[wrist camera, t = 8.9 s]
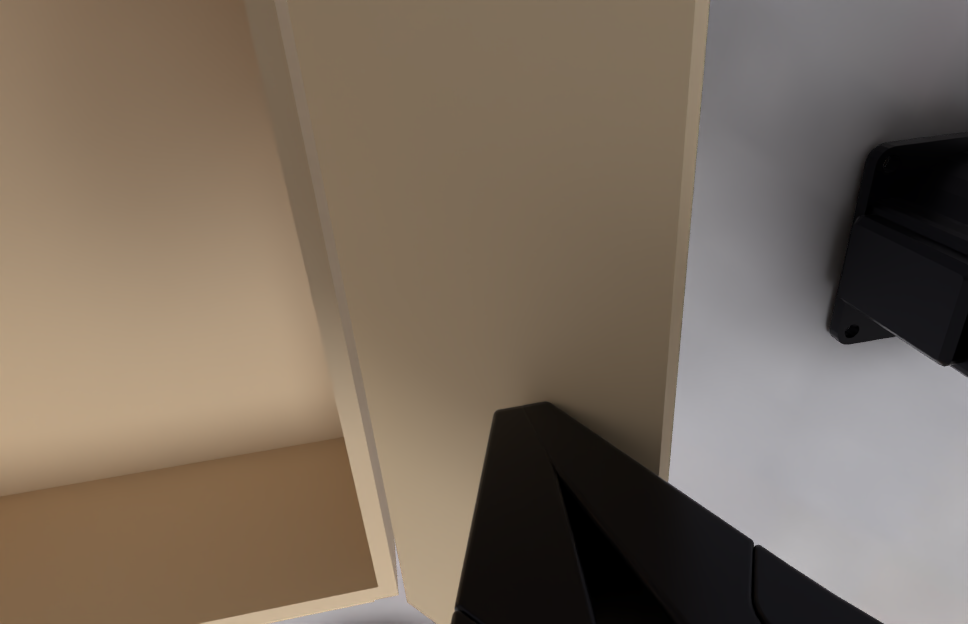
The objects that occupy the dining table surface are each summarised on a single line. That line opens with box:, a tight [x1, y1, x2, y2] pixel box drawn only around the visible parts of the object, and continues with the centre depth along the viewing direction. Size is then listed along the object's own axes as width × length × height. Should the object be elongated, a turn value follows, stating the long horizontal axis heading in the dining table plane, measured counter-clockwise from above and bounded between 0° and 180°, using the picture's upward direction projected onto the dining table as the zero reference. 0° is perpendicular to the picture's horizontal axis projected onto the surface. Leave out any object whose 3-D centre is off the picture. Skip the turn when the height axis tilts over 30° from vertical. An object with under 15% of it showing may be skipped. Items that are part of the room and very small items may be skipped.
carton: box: [0, 0, 398, 624], centre depth 13 cm, size 12×15×6 cm
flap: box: [287, 0, 710, 624], centre depth 9 cm, size 6×13×1 cm
